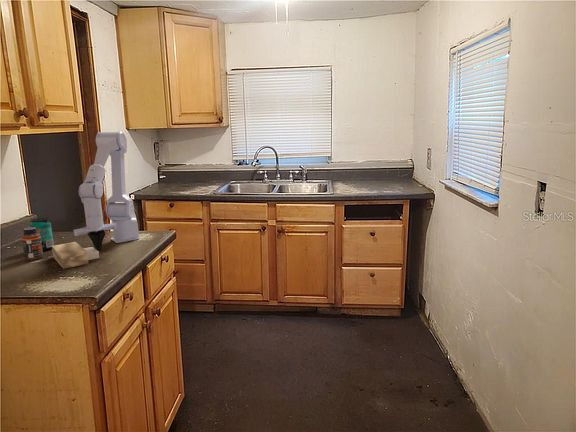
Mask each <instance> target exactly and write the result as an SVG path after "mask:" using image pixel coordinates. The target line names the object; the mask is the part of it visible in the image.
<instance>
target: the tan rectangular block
mask: <svg viewBox="0 0 576 432" xmlns="http://www.w3.org/2000/svg"><path fill="white" fill-rule="evenodd" d="M83 248H84V247H83V246H81V245H80V244H79V243H77V242H76V241H72V242H67V243H61V244H54V246H52V249H51V250H52V258H53V259H54V260H55V261H56V262H57V263H58V264H59V265H60V267H62V269H64V270H65V269H69V268H73V267H78V266H82V265H88V264H89V260H88V256H87V251H86V250H85V249H83Z"/></svg>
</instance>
